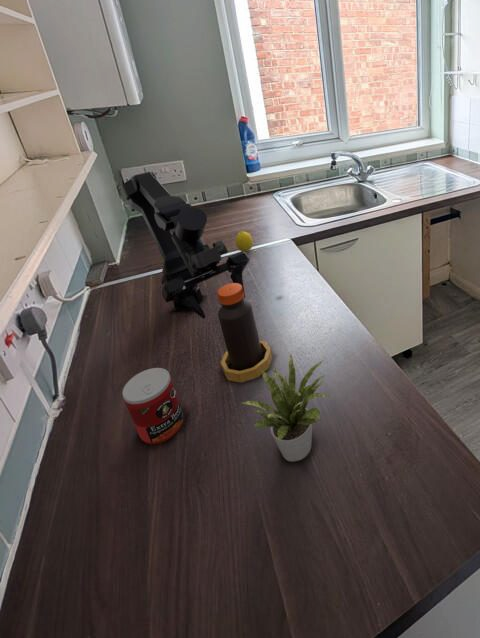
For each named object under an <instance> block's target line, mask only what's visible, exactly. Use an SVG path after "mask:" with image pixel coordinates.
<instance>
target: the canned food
mask: <svg viewBox="0 0 480 638" xmlns="http://www.w3.org/2000/svg"><path fill="white" fill-rule="evenodd" d="M122 398H123V401H124V404H125V406H126V408H127V411H128V413H129V415H130V417H131V420H132V422H133V424H134V427H135V430H136V431H137V434H138V436H139V438H140V440H142V441H143V442H144V443H145V444H148V445H157V444H162V443H164V442H166V441H169V440H170V439H171V438H172V437H174V436H175V435H176V434H177V433H178V432H179V430H180V429H181V428H182V427H183V426H182V425H183V423H184V412H183V409H182V406H181V403H180V400H179V397H178V394H177V392H176V389H175V386H174V382H173V380H172V377H171V375H170V373H169V371H168V370H167V369H165V368H163V367H153V368H148V369H145V370H143V371H141V372H138V373H137V374H135V375H134V376H132V377H131V378H130V379H129V380H128V381H127V382H126V383H125V385H124V387H123V389H122Z"/></svg>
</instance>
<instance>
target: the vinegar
mask: <svg viewBox="0 0 480 638" xmlns="http://www.w3.org/2000/svg"><path fill="white" fill-rule="evenodd" d="M244 293H245V291H244V292H243V288H242V285H241V284H238V283H233V282H230V283H227V284H224V285H222V286H221V287H220V288H219V289H218V290H217V293H216V294H217V298H218V301H219V304H220V305H221V307H220V308H219V309H218V312H217V317H218V321H219V325H220V327H221V328H220V329H221V333H222V336H223V340H224V343H225V347H226V351H228V355H229V358H230V366H231V369H232V370H237V371H242V370H245V369H249V368H252V367H254V366H256V365H257V364H258V363H259V362H261V361H262V360H263V359H264V355H263V351H262V350H261V346H260V341H261V340H260V337H259V333H258V328H257V324H256V320H255V316H254V315H255V314H254V310H253V306H252V304H251V302H250V301H248V300H247V299H245V298H244ZM259 340H260V341H259Z"/></svg>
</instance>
